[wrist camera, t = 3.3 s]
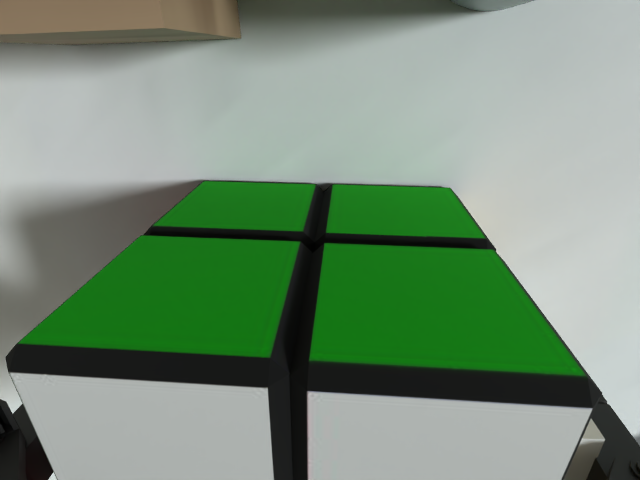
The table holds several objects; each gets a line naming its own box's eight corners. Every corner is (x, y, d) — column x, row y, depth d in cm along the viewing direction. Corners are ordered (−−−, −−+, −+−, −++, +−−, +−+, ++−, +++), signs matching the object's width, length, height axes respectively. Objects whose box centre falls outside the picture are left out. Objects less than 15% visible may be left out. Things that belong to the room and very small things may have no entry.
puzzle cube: (223, 369, 20) (115, 636, 11) (198, 177, 15) (-21, 354, 6) (424, 381, 19) (489, 675, 10) (457, 185, 15) (623, 393, 6)
